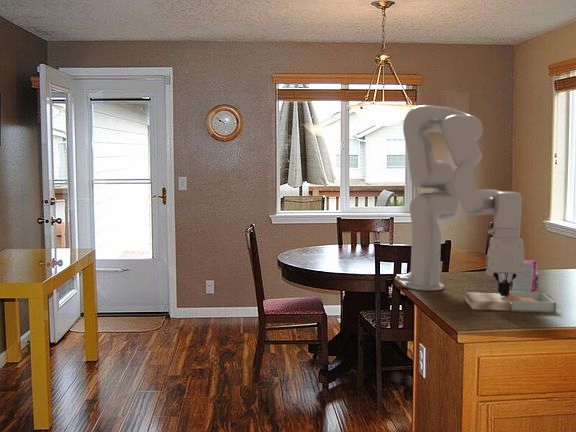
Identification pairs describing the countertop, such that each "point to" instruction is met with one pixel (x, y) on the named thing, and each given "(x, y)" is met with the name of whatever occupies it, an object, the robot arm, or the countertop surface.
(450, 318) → the countertop surface
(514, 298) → the tile
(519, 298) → the tile
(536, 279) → the pill bottle
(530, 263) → the supplement box
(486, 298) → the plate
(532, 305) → the tray
